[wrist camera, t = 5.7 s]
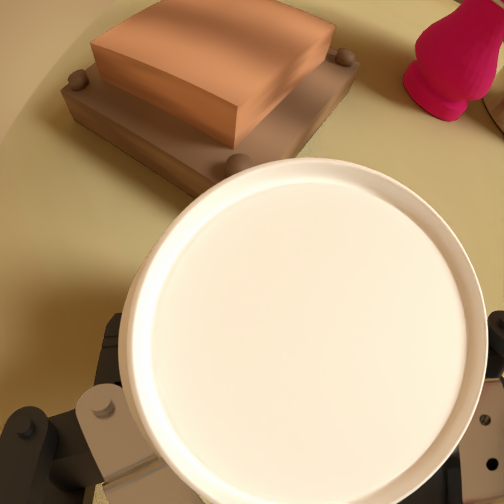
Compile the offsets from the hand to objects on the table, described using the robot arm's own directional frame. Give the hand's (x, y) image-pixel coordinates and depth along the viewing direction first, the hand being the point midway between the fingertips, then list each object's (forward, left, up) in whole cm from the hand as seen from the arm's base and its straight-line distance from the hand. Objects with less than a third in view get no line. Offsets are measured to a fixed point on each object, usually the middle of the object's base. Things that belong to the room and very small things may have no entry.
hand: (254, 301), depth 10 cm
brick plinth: (-11, -10, -5) cm, 16 cm away
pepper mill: (-25, +3, -6) cm, 26 cm away
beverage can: (+1, +1, -6) cm, 6 cm away
